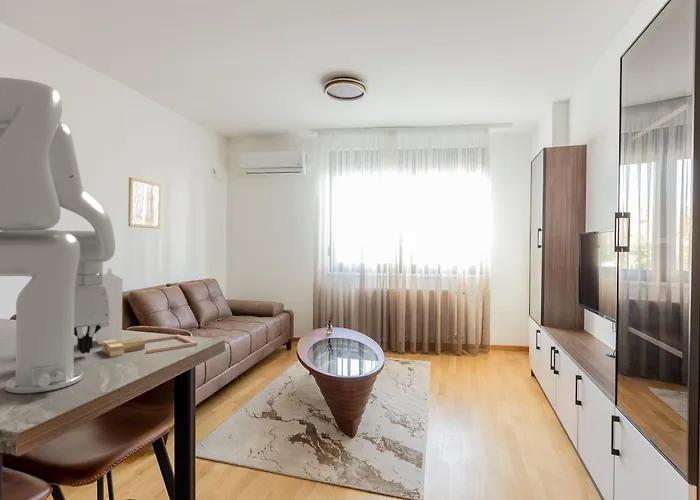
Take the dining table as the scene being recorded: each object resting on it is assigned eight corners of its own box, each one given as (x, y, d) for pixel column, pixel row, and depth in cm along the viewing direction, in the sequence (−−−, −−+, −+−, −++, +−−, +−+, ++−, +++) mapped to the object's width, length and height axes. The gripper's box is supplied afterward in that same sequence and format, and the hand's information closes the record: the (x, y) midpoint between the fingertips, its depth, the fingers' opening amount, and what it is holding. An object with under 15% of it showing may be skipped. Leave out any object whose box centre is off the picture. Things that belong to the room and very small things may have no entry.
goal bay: (197, 345, 115) (197, 342, 115) (147, 353, 105) (147, 350, 105) (178, 337, 125) (178, 334, 125) (131, 343, 115) (131, 341, 115)
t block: (148, 351, 108) (148, 341, 108) (110, 357, 102) (110, 347, 102) (137, 345, 114) (138, 336, 114) (102, 350, 108) (102, 341, 108)
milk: (98, 344, 114) (98, 268, 114) (95, 340, 119) (95, 267, 119) (122, 341, 118) (122, 268, 118) (118, 337, 123) (119, 267, 123)
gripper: (51, 283, 93) (51, 361, 94) (122, 280, 104) (121, 350, 104) (46, 281, 99) (46, 354, 99) (114, 278, 109) (113, 344, 109)
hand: (84, 352), depth 102 cm, fingers closed
